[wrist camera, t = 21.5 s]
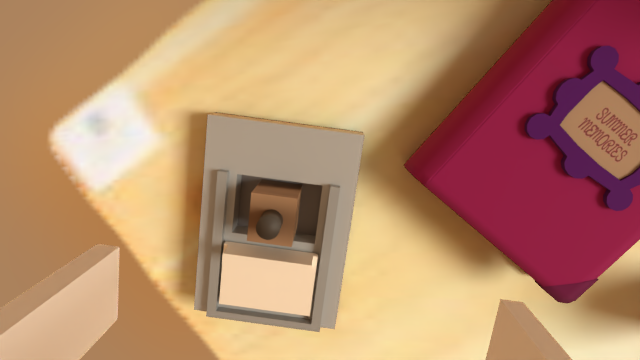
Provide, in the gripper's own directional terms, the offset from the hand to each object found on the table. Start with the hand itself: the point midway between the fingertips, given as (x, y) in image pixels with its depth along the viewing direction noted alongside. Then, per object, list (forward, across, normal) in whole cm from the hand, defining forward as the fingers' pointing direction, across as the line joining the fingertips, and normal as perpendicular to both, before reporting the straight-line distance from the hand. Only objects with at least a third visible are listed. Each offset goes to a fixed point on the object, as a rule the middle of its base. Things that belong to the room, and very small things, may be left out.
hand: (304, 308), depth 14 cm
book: (+33, +24, +6) cm, 42 cm away
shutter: (+29, -5, -14) cm, 33 cm away
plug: (+32, -4, -6) cm, 33 cm away
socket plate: (+33, -4, -8) cm, 34 cm away
